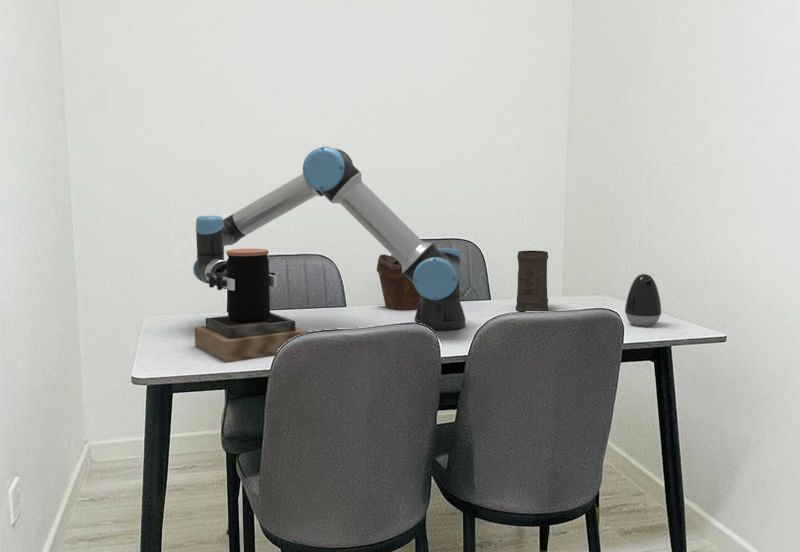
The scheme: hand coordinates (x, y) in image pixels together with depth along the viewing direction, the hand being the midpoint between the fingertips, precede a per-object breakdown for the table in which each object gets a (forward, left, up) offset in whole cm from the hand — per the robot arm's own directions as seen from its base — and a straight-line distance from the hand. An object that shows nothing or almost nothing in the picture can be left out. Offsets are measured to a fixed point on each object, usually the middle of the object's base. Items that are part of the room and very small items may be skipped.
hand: (254, 283), depth 191 cm
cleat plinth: (+4, -2, -17) cm, 18 cm away
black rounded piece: (-80, -79, -18) cm, 114 cm away
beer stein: (-42, -91, -18) cm, 102 cm away
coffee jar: (+4, -2, -10) cm, 11 cm away
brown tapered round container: (-2, -76, -18) cm, 78 cm away
